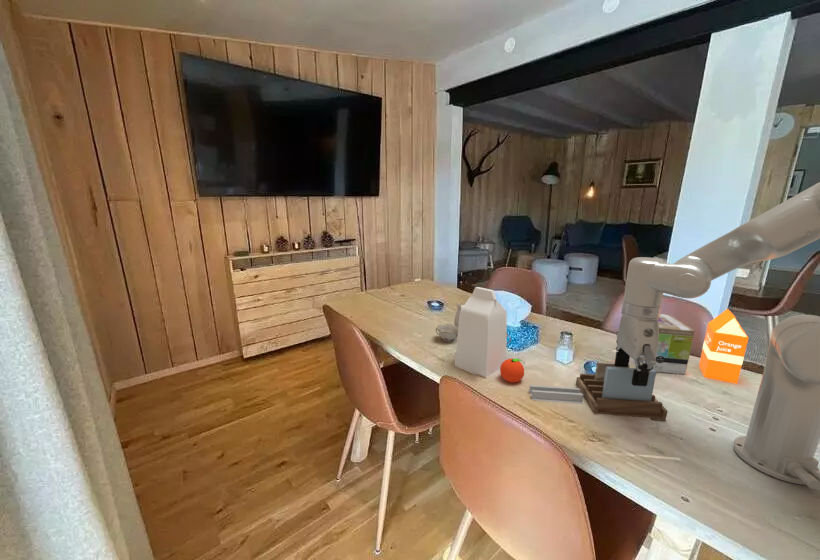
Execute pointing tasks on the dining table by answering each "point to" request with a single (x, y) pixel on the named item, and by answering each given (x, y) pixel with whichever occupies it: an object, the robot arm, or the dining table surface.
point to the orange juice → (723, 348)
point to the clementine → (512, 370)
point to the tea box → (673, 345)
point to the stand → (556, 394)
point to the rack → (593, 395)
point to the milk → (481, 334)
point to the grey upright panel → (626, 385)
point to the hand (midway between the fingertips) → (629, 375)
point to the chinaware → (451, 328)
